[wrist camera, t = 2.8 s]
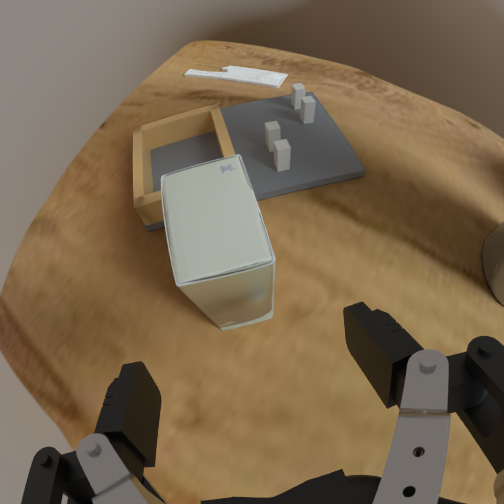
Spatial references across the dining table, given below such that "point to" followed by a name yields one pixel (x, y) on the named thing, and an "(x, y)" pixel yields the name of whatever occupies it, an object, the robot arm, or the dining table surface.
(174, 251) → the skincare box
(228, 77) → the white plastic strip tool
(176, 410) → the dining table surface
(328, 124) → the board
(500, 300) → the robot arm
